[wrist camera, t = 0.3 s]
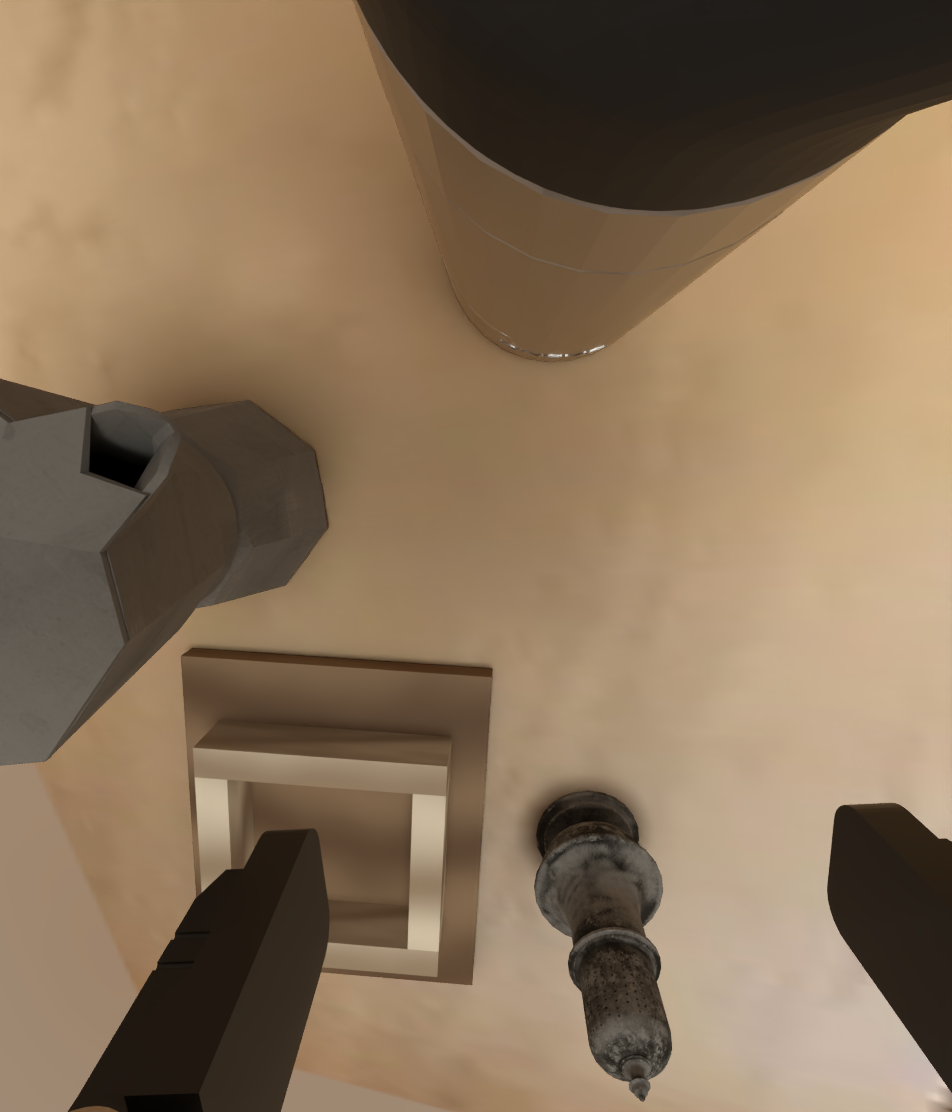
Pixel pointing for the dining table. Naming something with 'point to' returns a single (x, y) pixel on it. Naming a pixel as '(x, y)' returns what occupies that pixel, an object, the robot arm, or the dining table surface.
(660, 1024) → the salt shaker
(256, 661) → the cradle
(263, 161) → the dining table surface
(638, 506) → the dining table surface
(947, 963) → the robot arm
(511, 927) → the dining table surface
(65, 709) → the coffeepot
